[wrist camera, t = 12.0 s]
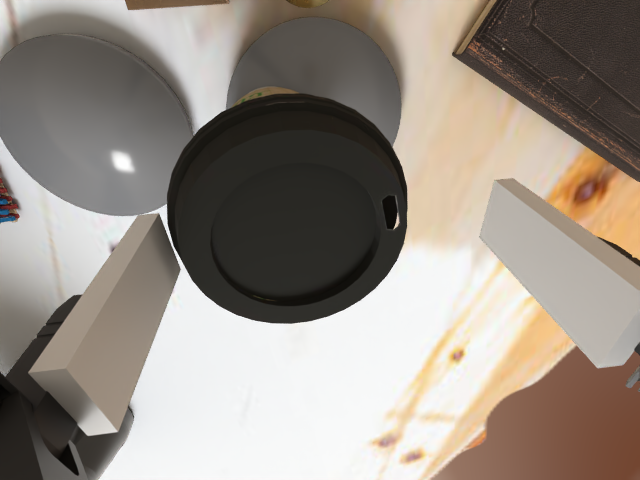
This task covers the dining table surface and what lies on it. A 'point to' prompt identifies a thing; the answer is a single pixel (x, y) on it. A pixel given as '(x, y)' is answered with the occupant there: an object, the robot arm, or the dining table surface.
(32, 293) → the dining table surface
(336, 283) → the coffee cup
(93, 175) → the grey flat disc
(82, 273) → the dining table surface
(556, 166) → the dining table surface
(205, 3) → the balance
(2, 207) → the woven mat
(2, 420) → the robot arm
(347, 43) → the dish low side
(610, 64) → the hardcover book
